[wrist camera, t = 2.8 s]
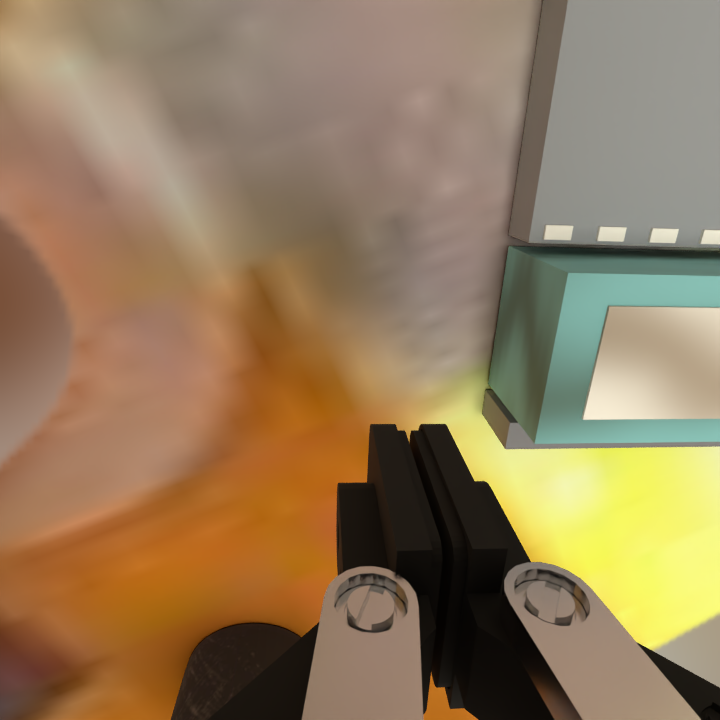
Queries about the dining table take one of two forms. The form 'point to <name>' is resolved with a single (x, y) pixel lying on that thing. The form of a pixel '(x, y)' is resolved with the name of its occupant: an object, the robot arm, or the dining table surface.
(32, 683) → the dining table surface
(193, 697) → the travel mug
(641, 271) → the teal rectangular box
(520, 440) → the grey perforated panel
